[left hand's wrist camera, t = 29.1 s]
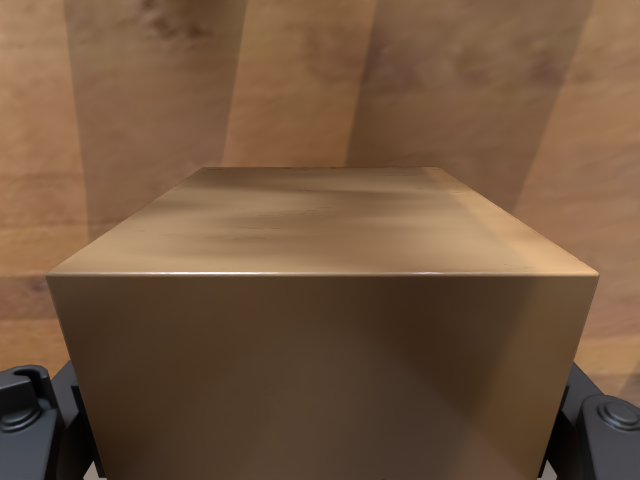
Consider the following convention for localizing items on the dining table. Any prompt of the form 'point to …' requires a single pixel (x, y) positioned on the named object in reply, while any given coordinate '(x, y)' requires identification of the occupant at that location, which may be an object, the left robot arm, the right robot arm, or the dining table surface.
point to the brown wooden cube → (322, 329)
